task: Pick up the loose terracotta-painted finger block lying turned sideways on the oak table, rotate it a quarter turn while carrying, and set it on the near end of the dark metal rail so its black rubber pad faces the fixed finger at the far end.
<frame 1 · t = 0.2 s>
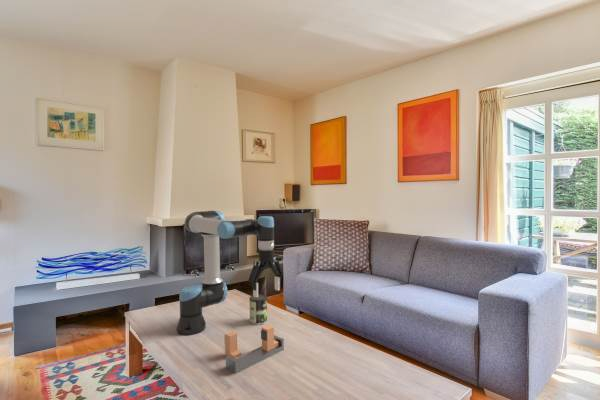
hand: (266, 293, 158), 27 cm above the table, fingers open, 13 cm apart
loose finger: (231, 354, 155), on the table
fixed finger: (267, 348, 157), resting on rail
coffee can: (258, 321, 194), on the table
rail: (256, 358, 151), on the table
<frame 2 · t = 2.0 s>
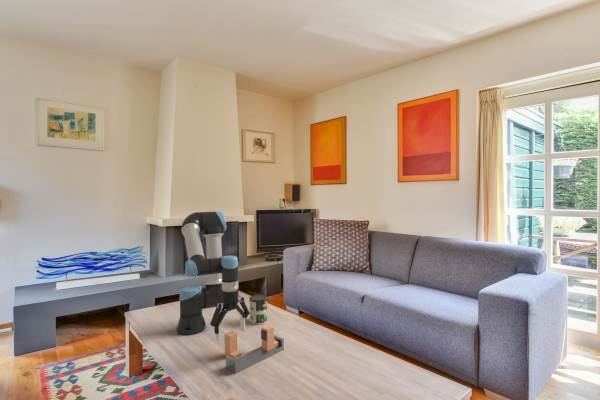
hand: (231, 335, 154), 9 cm above the table, fingers open, 13 cm apart
nothing on the table moved.
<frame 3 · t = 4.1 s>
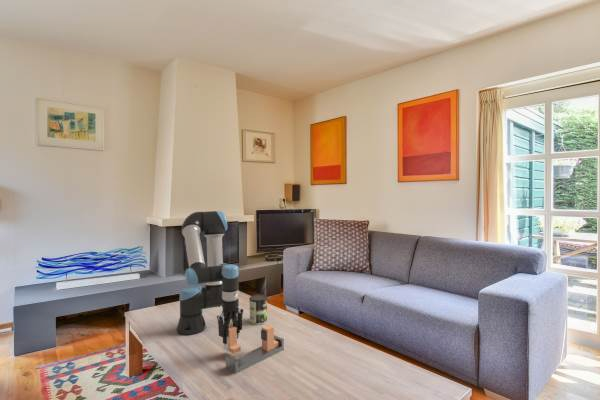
hand: (230, 347, 155), 3 cm above the table, fingers closed on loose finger, 4 cm apart
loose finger: (230, 348, 155), point 3 cm above the table, touching gripper
everything else where it was.
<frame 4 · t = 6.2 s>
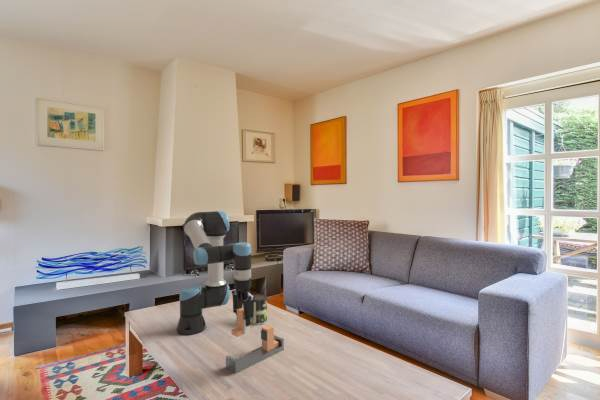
hand: (243, 331, 146), 15 cm above the table, fingers closed on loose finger, 4 cm apart
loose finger: (243, 331, 146), point 14 cm above the table, touching gripper
everything else where it was.
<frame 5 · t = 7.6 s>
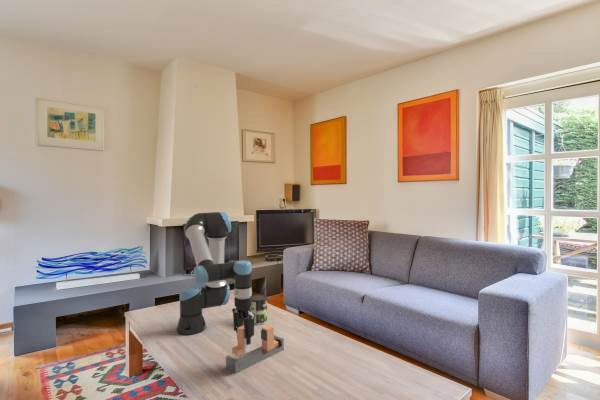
hand: (243, 349, 146), 7 cm above the table, fingers closed on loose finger, 4 cm apart
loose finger: (244, 349, 146), point 6 cm above the table, touching gripper
everything else where it was.
when the fingers open (3 cm above the table, at t = 8.6 s): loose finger stays where it is, resting on rail.
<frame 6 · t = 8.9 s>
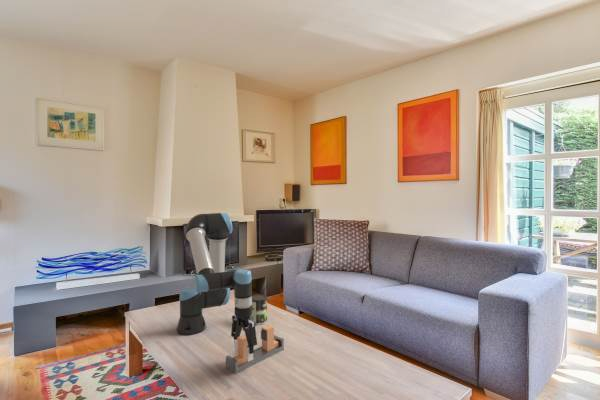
hand: (243, 356, 146), 3 cm above the table, fingers open, 8 cm apart
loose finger: (244, 359, 146), point 2 cm above the table, touching rail
everything else where it was.
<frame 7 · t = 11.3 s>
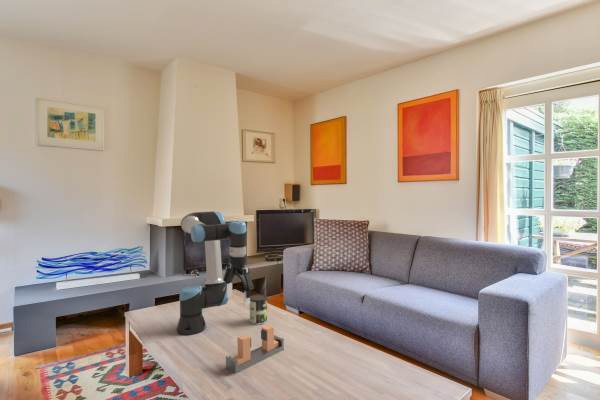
hand: (238, 300, 154), 25 cm above the table, fingers open, 13 cm apart
nothing on the table moved.
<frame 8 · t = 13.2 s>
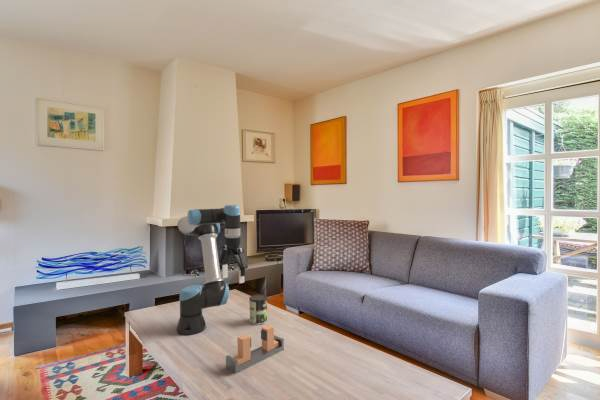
hand: (233, 280, 162), 33 cm above the table, fingers open, 13 cm apart
nothing on the table moved.
at the end: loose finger 0.1 cm from the target spot on the rail, point 2.0 cm above the rail's base; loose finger tilted 0°; the gripper is holding nothing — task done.
